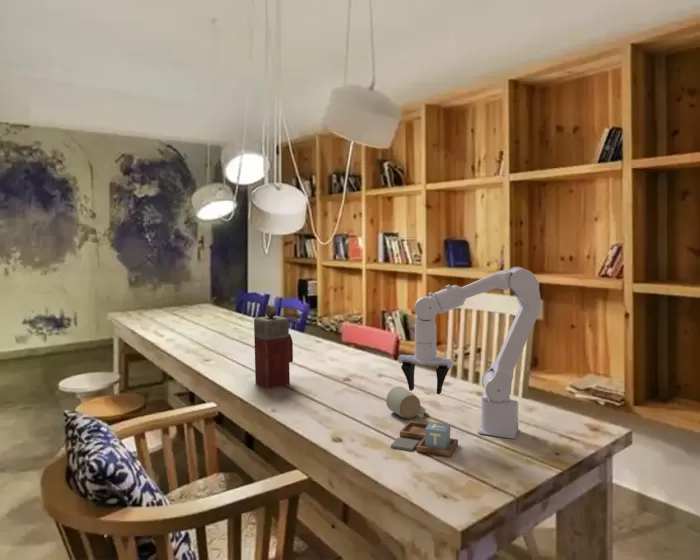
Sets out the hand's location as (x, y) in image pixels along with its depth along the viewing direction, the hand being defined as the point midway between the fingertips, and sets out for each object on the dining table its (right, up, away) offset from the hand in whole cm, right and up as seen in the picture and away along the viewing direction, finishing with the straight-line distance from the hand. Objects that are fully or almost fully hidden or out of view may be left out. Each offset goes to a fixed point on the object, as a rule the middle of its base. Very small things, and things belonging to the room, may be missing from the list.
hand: (425, 391), depth 144 cm
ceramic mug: (-4, -9, +12) cm, 16 cm away
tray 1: (-2, -11, -3) cm, 11 cm away
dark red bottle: (-47, -7, +44) cm, 65 cm away
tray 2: (+1, -11, -12) cm, 17 cm away
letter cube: (+1, -11, -12) cm, 17 cm away
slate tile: (-7, -11, -10) cm, 17 cm away
